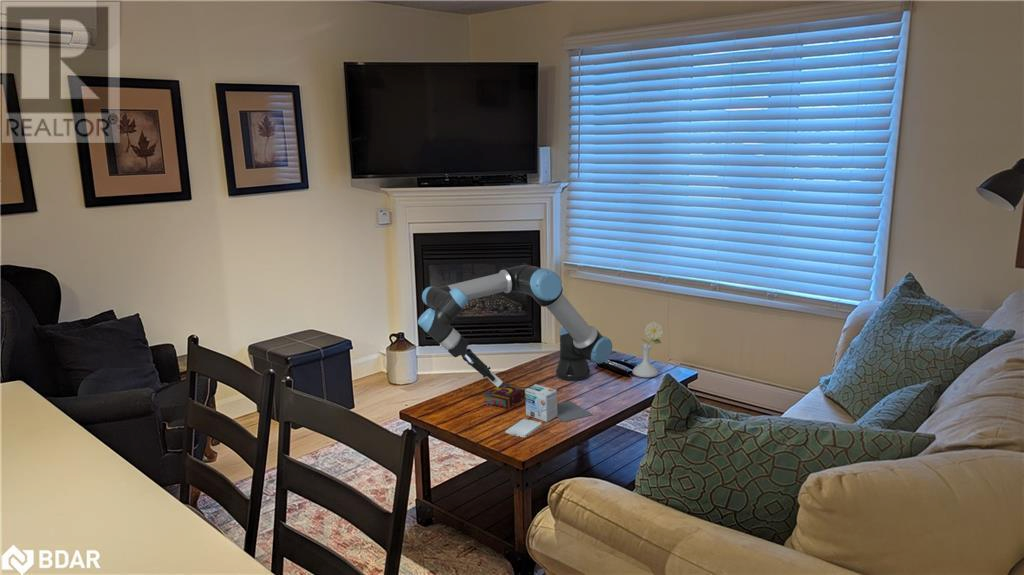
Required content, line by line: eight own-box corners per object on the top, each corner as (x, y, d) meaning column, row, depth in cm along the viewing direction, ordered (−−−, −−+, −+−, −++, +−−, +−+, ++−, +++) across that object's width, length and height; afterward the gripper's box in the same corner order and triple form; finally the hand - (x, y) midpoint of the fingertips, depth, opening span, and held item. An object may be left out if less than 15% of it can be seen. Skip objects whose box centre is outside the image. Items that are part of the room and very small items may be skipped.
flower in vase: (629, 378, 304) (631, 323, 299) (635, 370, 314) (637, 316, 309) (659, 381, 299) (661, 326, 294) (664, 373, 309) (666, 319, 304)
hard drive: (523, 418, 259) (505, 430, 249) (542, 422, 255) (524, 435, 245) (523, 422, 259) (505, 434, 249) (542, 427, 255) (524, 439, 245)
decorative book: (527, 398, 282) (527, 386, 281) (505, 411, 269) (505, 399, 268) (505, 392, 289) (505, 381, 288) (482, 405, 276) (481, 393, 275)
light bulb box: (525, 415, 264) (524, 388, 262) (536, 409, 269) (535, 383, 267) (547, 422, 257) (546, 395, 255) (558, 416, 262) (557, 389, 260)
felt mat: (569, 401, 278) (569, 400, 278) (593, 415, 264) (593, 414, 264) (542, 407, 272) (542, 407, 271) (564, 422, 258) (564, 421, 258)
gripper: (445, 345, 257) (490, 385, 263) (448, 355, 244) (495, 397, 250) (459, 330, 256) (504, 371, 263) (463, 340, 244) (509, 383, 250)
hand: (500, 384), depth 256 cm, fingers closed
